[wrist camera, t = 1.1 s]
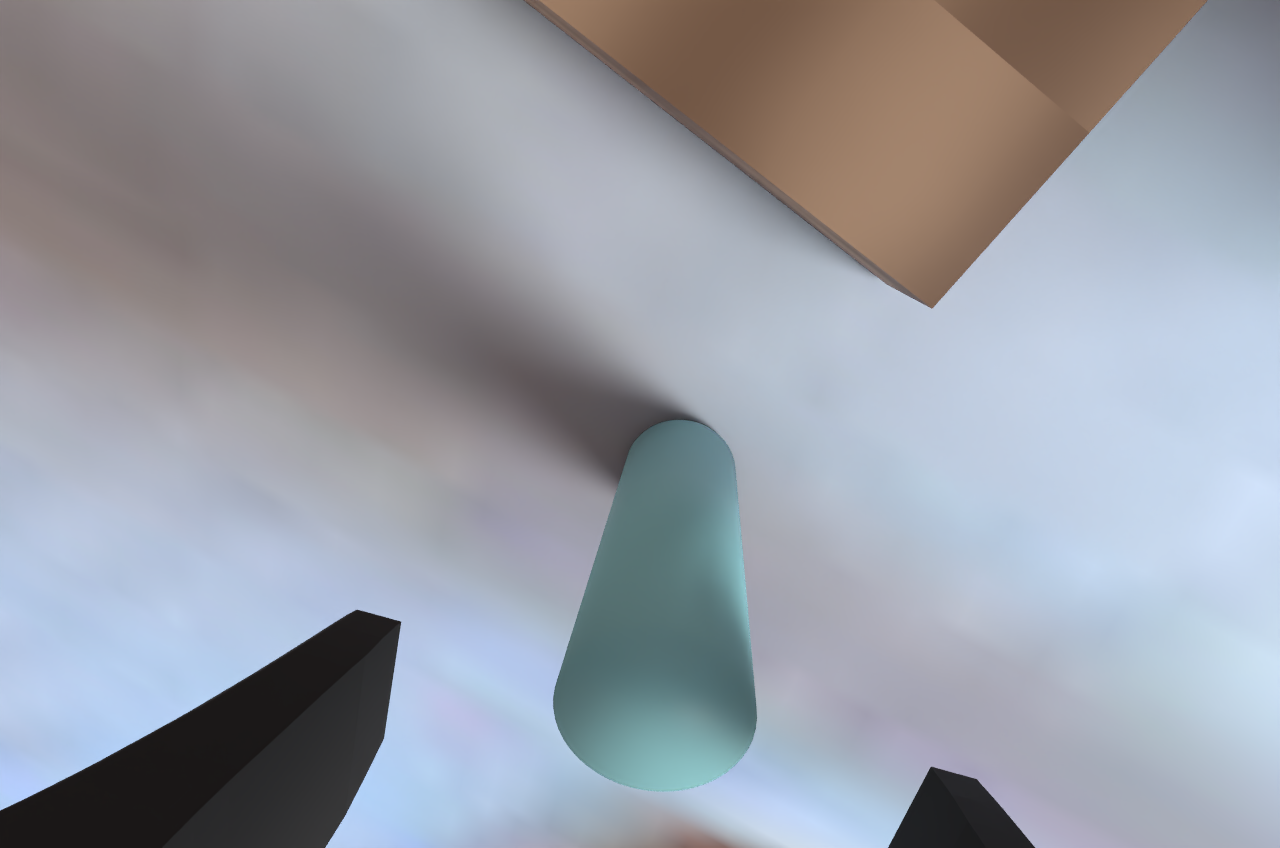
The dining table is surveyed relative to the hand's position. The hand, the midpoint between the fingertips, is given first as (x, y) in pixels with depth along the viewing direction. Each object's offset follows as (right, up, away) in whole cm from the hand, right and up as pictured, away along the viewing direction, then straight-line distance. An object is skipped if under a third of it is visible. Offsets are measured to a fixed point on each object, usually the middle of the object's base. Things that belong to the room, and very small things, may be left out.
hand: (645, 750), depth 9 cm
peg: (+1, +3, +9) cm, 10 cm away
